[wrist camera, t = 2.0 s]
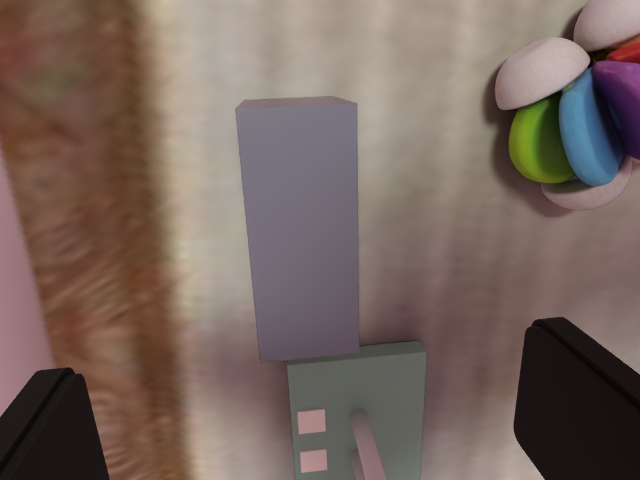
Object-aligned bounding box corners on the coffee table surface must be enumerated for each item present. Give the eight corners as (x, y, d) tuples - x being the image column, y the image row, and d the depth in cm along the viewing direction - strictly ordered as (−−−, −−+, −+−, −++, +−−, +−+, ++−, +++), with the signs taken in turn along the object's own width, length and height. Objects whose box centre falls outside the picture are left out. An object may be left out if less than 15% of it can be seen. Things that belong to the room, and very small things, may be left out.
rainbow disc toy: (682, 117, 24) (846, 132, 17) (524, 218, 25) (619, 270, 18) (632, -38, 21) (805, -92, 14) (455, 83, 22) (539, 86, 15)
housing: (244, 100, 21) (235, 108, 15) (332, 96, 22) (357, 103, 16) (261, 294, 25) (259, 362, 19) (337, 288, 25) (358, 353, 19)
